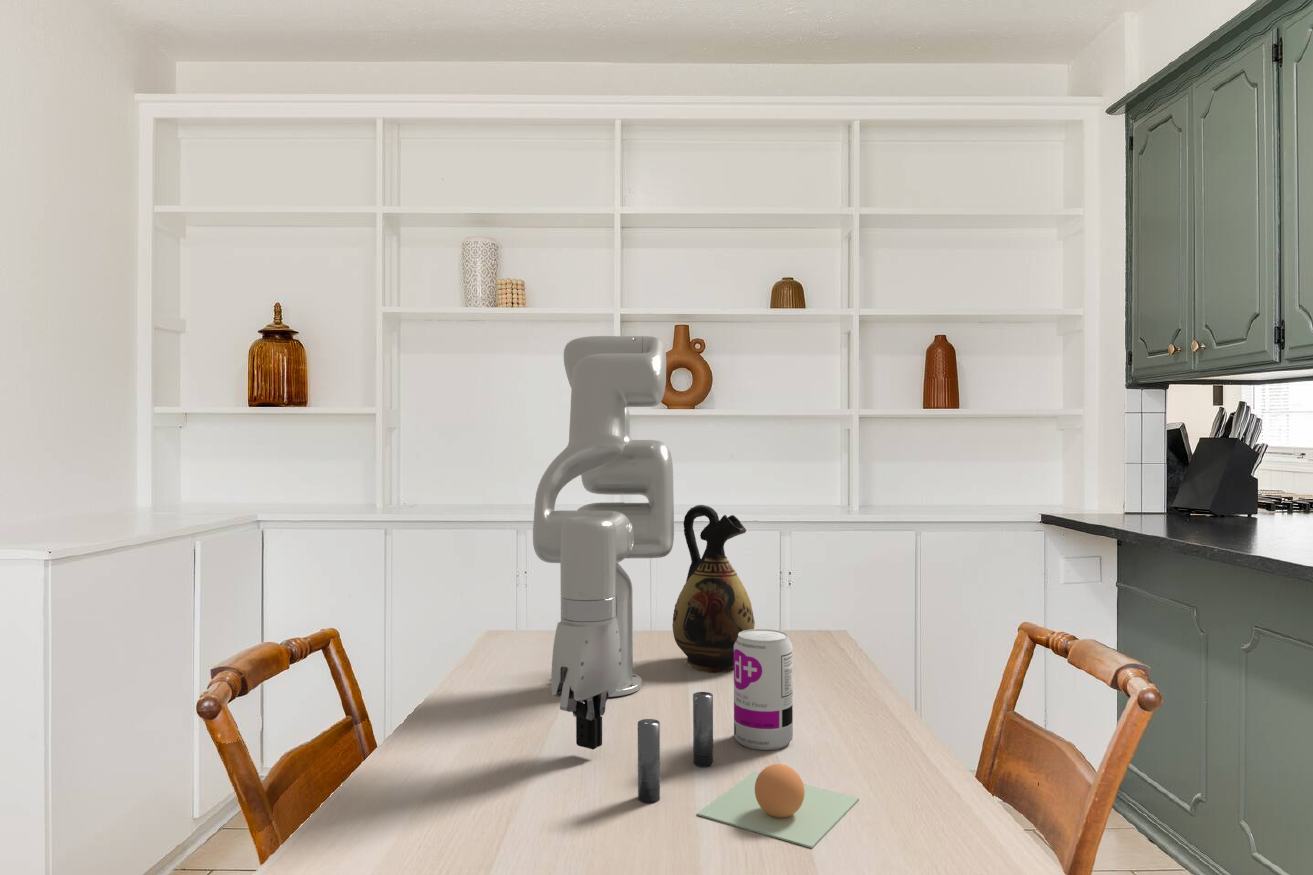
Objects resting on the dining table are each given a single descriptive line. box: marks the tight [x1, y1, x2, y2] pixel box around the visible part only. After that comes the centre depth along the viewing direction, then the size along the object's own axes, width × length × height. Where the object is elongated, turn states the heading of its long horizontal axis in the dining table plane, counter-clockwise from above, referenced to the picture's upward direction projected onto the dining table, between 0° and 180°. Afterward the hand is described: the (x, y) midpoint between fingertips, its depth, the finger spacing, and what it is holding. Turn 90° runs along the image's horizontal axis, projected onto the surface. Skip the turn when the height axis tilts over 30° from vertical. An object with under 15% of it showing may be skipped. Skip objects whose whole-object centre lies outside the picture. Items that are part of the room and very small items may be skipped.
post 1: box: [637, 718, 661, 804], centre depth 99 cm, size 3×3×9 cm
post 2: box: [692, 691, 714, 768], centre depth 110 cm, size 3×3×9 cm
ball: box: [755, 763, 805, 818], centre depth 95 cm, size 6×6×6 cm
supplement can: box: [733, 628, 794, 751], centre depth 118 cm, size 8×8×15 cm
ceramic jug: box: [672, 504, 756, 674], centre depth 157 cm, size 17×15×30 cm
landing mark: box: [696, 771, 860, 849], centre depth 97 cm, size 14×14×1 cm
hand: (589, 745), depth 112 cm, fingers closed
